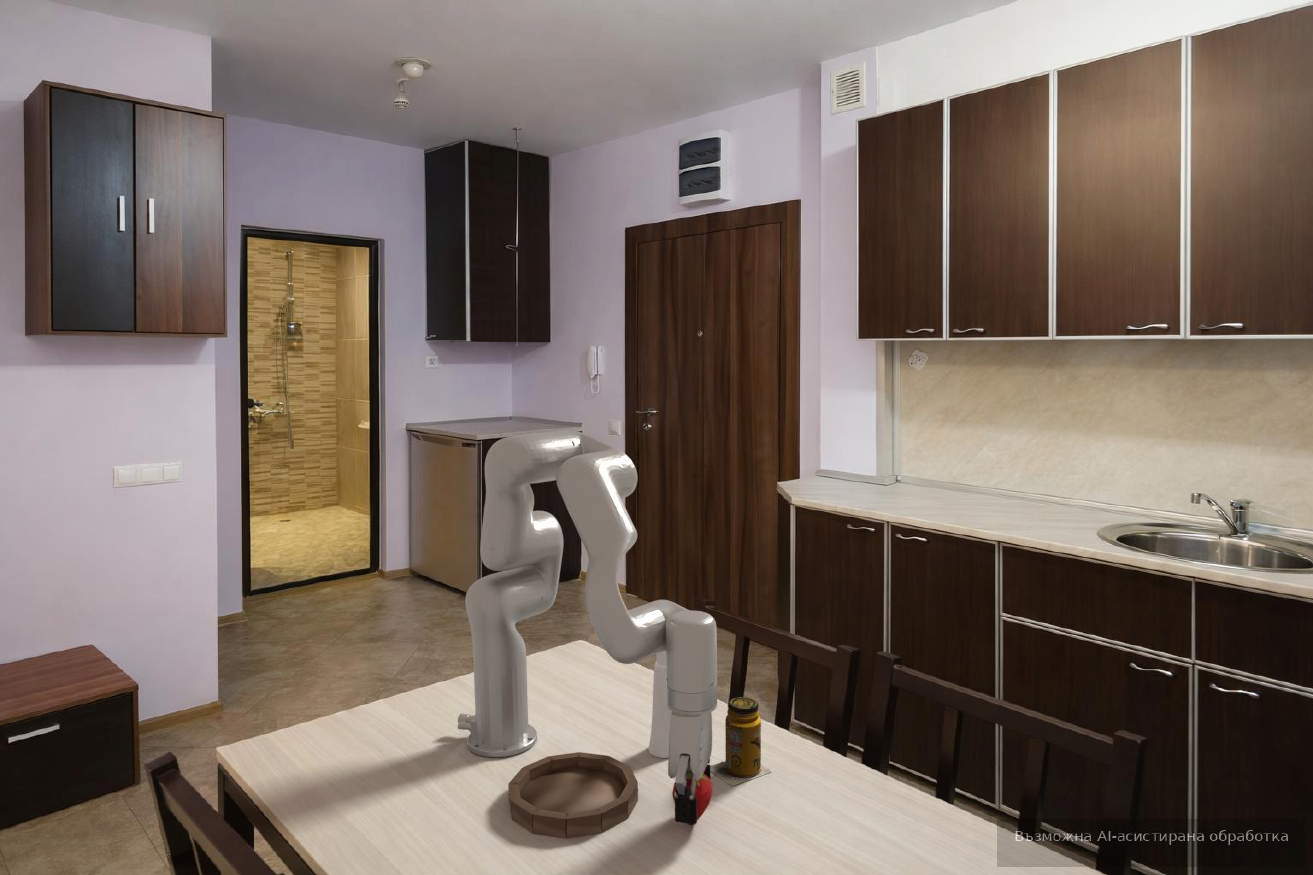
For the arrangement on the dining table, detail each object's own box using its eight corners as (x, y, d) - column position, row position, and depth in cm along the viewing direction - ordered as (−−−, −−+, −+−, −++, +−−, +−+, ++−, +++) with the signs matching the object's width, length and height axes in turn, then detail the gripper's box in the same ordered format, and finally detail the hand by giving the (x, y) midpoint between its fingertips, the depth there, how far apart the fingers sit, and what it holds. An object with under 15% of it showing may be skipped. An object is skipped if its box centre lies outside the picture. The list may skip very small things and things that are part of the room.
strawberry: (718, 815, 129) (718, 753, 128) (704, 842, 122) (703, 776, 121) (681, 808, 131) (681, 747, 130) (666, 834, 124) (665, 770, 123)
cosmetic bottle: (655, 740, 154) (653, 624, 151) (686, 745, 152) (685, 627, 149) (643, 755, 148) (642, 635, 146) (675, 760, 146) (674, 638, 144)
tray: (488, 826, 126) (487, 807, 126) (540, 763, 145) (539, 747, 145) (613, 845, 121) (613, 825, 121) (650, 777, 140) (650, 760, 140)
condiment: (771, 772, 142) (771, 704, 140) (732, 787, 137) (732, 717, 136) (744, 755, 148) (744, 690, 146) (705, 769, 143) (705, 701, 142)
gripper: (681, 672, 133) (682, 774, 135) (652, 717, 117) (654, 833, 118) (727, 676, 131) (728, 779, 133) (704, 722, 115) (706, 840, 116)
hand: (693, 804), depth 126 cm, fingers open, 9 cm apart
